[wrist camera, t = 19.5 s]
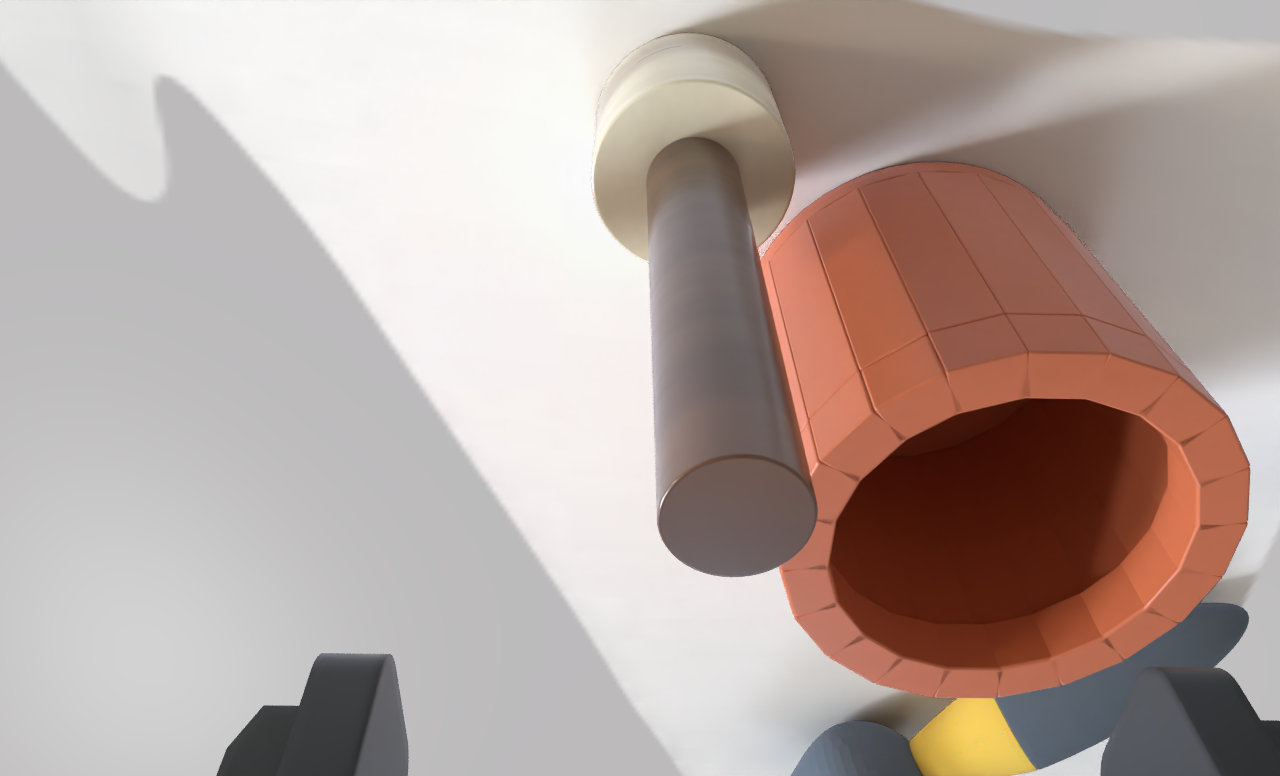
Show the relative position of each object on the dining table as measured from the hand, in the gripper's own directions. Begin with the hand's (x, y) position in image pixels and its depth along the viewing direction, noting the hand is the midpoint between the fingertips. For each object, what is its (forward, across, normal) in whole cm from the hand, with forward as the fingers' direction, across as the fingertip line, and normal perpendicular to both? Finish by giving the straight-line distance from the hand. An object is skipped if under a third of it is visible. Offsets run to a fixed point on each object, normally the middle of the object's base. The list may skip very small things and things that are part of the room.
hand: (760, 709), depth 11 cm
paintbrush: (+19, -12, +22) cm, 32 cm away
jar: (+19, -7, +6) cm, 21 cm away
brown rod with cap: (+19, 0, 0) cm, 19 cm away
